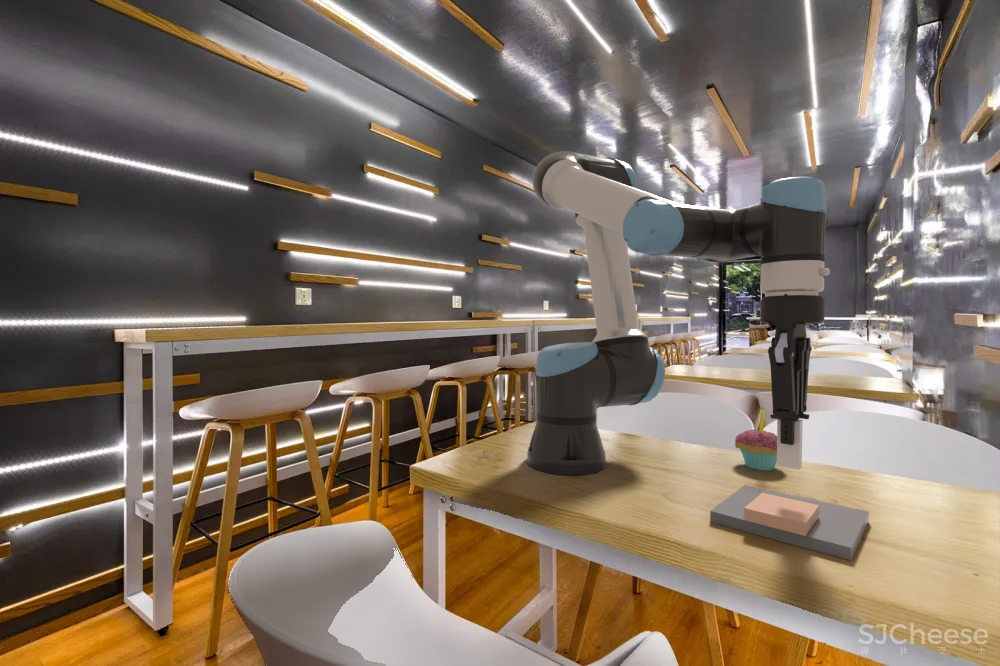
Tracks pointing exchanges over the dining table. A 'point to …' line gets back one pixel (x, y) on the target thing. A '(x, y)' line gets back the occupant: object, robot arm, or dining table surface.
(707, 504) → the dining table surface
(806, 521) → the tile
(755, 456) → the cupcake
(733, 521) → the board
